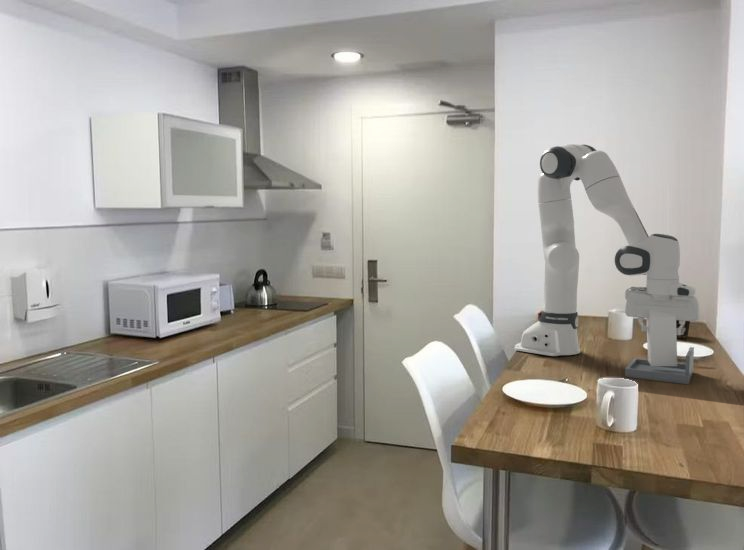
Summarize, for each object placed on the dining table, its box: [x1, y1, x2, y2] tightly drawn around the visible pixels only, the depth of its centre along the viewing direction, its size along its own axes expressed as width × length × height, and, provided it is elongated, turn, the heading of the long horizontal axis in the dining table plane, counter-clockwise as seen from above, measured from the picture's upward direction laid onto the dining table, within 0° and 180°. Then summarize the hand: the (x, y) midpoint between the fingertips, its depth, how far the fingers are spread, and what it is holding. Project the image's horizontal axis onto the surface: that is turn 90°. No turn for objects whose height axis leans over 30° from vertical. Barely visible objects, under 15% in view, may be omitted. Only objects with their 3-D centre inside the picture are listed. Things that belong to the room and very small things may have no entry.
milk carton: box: [646, 309, 678, 366], centre depth 184 cm, size 7×7×19 cm
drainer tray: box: [624, 346, 695, 385], centre depth 184 cm, size 17×16×8 cm
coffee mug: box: [676, 320, 691, 340], centre depth 232 cm, size 12×9×10 cm
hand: (660, 333), depth 184 cm, fingers closed on milk carton, 8 cm apart
